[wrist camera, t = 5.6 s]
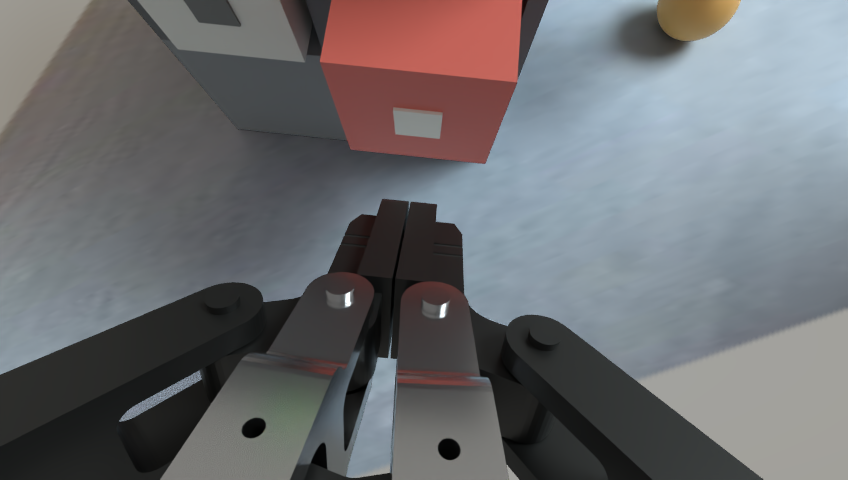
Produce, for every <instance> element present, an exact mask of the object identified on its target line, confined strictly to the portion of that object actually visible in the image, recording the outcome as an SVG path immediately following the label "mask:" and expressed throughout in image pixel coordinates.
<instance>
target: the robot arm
mask: <svg viewBox="0 0 848 480" xmlns="http://www.w3.org/2000/svg"><path fill="white" fill-rule="evenodd" d="M436 209H437V204H428V203H418V202H411V203H410V208H409V202H408V201H398V200H389V199H382V202H381V205H380V208H379V210H378V213H377V216H373V215H364V214H361V215H360V216H359V217H357V218H356V219H355V220H353V221H352V222H350V224H349V226H348V228H347V231H346V233H345V236H344V237H343V240H342V242H341V245H340V247H339V249H338V251H337V253H336V256H335V258H334V260H333V263H332V265H331V267H330V269H329V272H328V274H326V275H323V276H321V277H318V278H317V279H315V280H314V281H312V282H311V283H310V284H309V286H308V287H307V288H306V290H305V292H304V293H303V295H302V296H301V297H298V298H294V299H288V300H280V301H271V302H263V297H262V294H261V292H260V291H259V290H258V289H257V288H255V287H253V286H251V285H248V284H245V283H234V282H232V283H223V284H218V285H214V286H211V287H208V288H206V289H203V290H201V291H199V292H196V293H194V294H192V295H189V296H187V297H184V298H182V299H180V300H177V301H175V302H173V303H170V304H168V305H165V306H163V307H161V308H158V309H156V310H153V311H151V312H149V313H146V314H144V315H142V316H139V317H137V318H134V319H132V320H130V321H127V322H125V323H123V324H120V325H118V326H115V327H113V328H111V329H108V330H106V331H104V332H101V333H99V334H96V335H94V336H92V337H89V338H87V339H84V340H82V341H80V342H77V343H75V344H73V345H70V346H68V347H65V348H63V349H61V350H58V351H56V352H54V353H51V354H49V355H46V356H44V357H42V358H39V359H37V360H34V361H32V362H30V363H27V364H25V365H23V366H20V367H18V368H15V369H13V370H11V371H8V372H6V373H4V374H1V375H0V480H509V476H508V472H507V466H506V464H507V465H508V466H509V468H510V469H511V470H512V471H513V472H514V474H515V475H516V476H517V477H518V478H519V480H763V479H762V478H761V477H759V476H758V475H757V474H755V473H754V472H753V471H752V470H750V469H749V468H748V467H747V466H745V465H744V464H743V463H741V462H740V461H739V460H737V459H736V458H735V457H734V456H732V455H731V454H730V453H728V452H727V451H726V450H725V449H723V448H722V447H721V446H719V445H718V444H717V443H715V442H714V441H713V440H712V439H710V438H709V437H708V436H706V435H705V434H704V433H703V432H701V431H700V430H699V429H698V428H696V427H695V426H694V425H692V424H691V423H690V422H688V421H687V420H686V419H684V418H683V417H682V416H681V415H679V414H678V413H677V412H676V411H674V410H673V409H671V408H670V407H669V406H668V405H667V404H665V403H664V402H663V401H661V400H660V399H658V397H656V396H655V395H654V394H652V393H651V392H650V391H648V390H647V389H646V388H645V387H643V386H642V385H641V384H639V383H638V382H637V381H636V380H634V379H633V378H632V377H630V376H629V375H628V374H627V373H625V372H624V371H623V370H621V369H620V368H619V367H618V366H616V365H615V364H614V363H612V362H611V361H610V360H608V359H607V358H606V357H605V356H603V355H602V354H601V353H599V352H598V351H597V350H596V349H594V348H593V347H592V346H590V345H589V344H588V343H587V342H585V341H584V340H583V339H581V338H580V337H579V336H578V335H576V334H575V333H574V332H572V331H571V330H570V329H568V328H567V327H566V326H564V325H563V324H561V323H559V322H558V321H556V320H553V319H551V318H548V317H544V316H539V315H525V316H520V317H518V318H516V319H514V320H512V321H511V322H510V323H509V325H508V326H505V325H502V324H499V323H496V322H493V321H491V320H488V319H486V318H484V317H482V316H481V315H479V314H478V313H476V312H475V311H474V310H473V309H472V308H471V307H470V306H469V304H468V300H467V298H466V297H465V295H464V279H463V248H462V234H461V232H460V231H459V230H458V228H457V227H456V226H455V224H451V223H441V222H436ZM391 337H392V345H391V358H393V359H397V364H396V377H395V391H394V409H393V426H392V444H391V461H390V473H387V474H380V475H374V476H367V477H361V478H348V477H346V473H347V468H348V464H349V460H350V456H351V453H352V450H353V446H354V443H355V440H356V436H357V433H358V430H359V426H360V423H361V420H362V416H363V413H364V410H365V406H366V403H367V400H368V396H369V393H370V390H371V385H372V376H373V374H374V371H375V367H376V362H377V357H382V358H388V354H389V349H390V343H391ZM199 370H200V374H201V377H202V380H200V381H198V382H197V383H195V384H193V385H191V386H189V387H188V388H186V389H184V390H182V391H181V392H179V393H177V394H175V395H173V396H172V397H170V398H168V399H166V400H164V401H163V402H161V403H159V404H157V405H156V406H154V407H152V408H150V409H148V410H147V411H145V412H143V413H141V414H140V415H138V416H136V417H134V418H132V419H130V420H127V421H122V422H119V420H120V419H121V417H122V416H123V415H124V414H125V413H126V412H127V411H128V410H129V409H130V408H132V407H133V406H135V405H136V404H138V403H140V402H142V401H144V400H145V399H147V398H149V397H151V396H153V395H155V394H156V393H158V392H160V391H162V390H164V389H166V388H167V387H169V386H171V385H173V384H175V383H177V382H179V381H180V380H182V379H184V378H186V377H188V376H190V375H191V374H193V373H195V372H197V371H199Z"/></svg>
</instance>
